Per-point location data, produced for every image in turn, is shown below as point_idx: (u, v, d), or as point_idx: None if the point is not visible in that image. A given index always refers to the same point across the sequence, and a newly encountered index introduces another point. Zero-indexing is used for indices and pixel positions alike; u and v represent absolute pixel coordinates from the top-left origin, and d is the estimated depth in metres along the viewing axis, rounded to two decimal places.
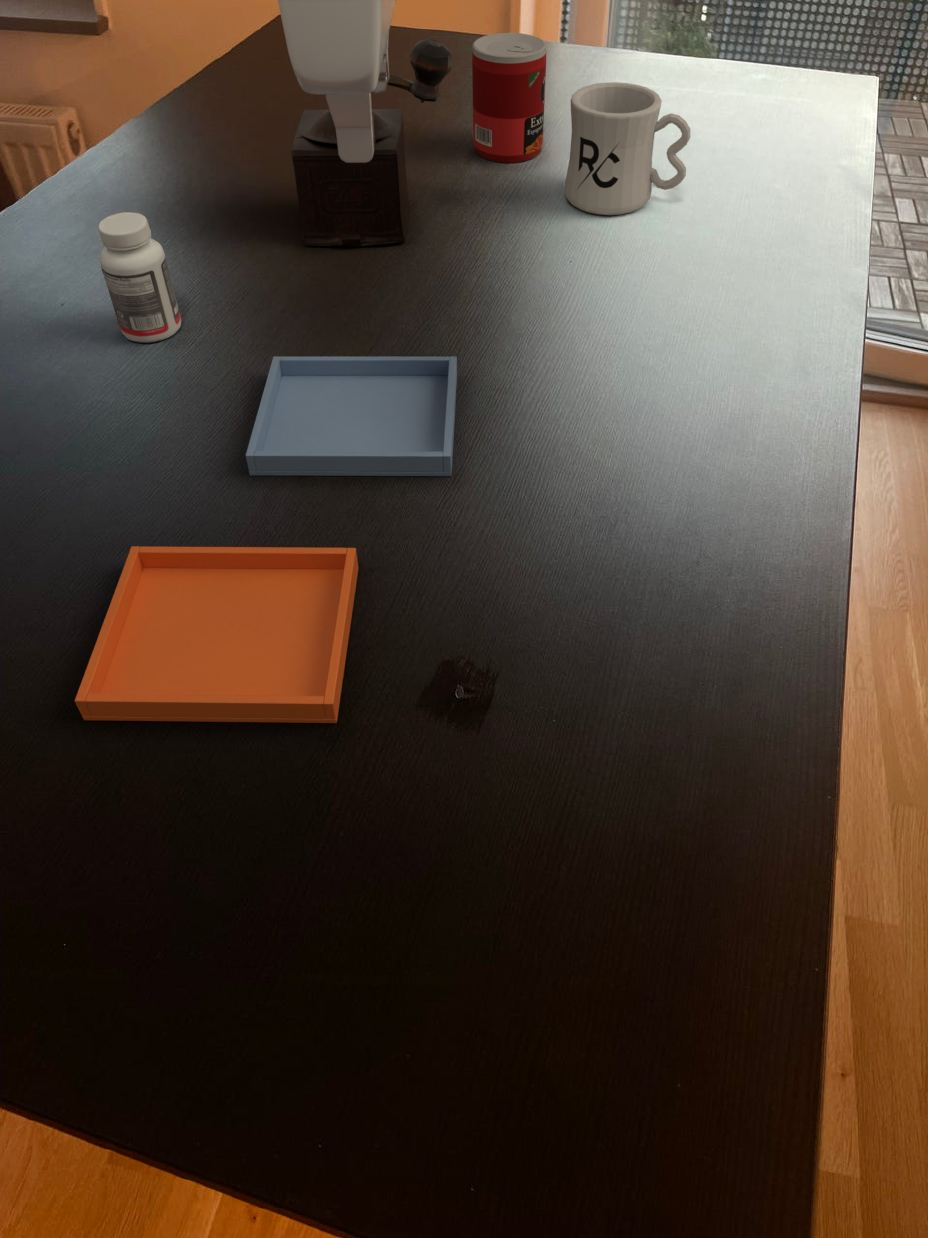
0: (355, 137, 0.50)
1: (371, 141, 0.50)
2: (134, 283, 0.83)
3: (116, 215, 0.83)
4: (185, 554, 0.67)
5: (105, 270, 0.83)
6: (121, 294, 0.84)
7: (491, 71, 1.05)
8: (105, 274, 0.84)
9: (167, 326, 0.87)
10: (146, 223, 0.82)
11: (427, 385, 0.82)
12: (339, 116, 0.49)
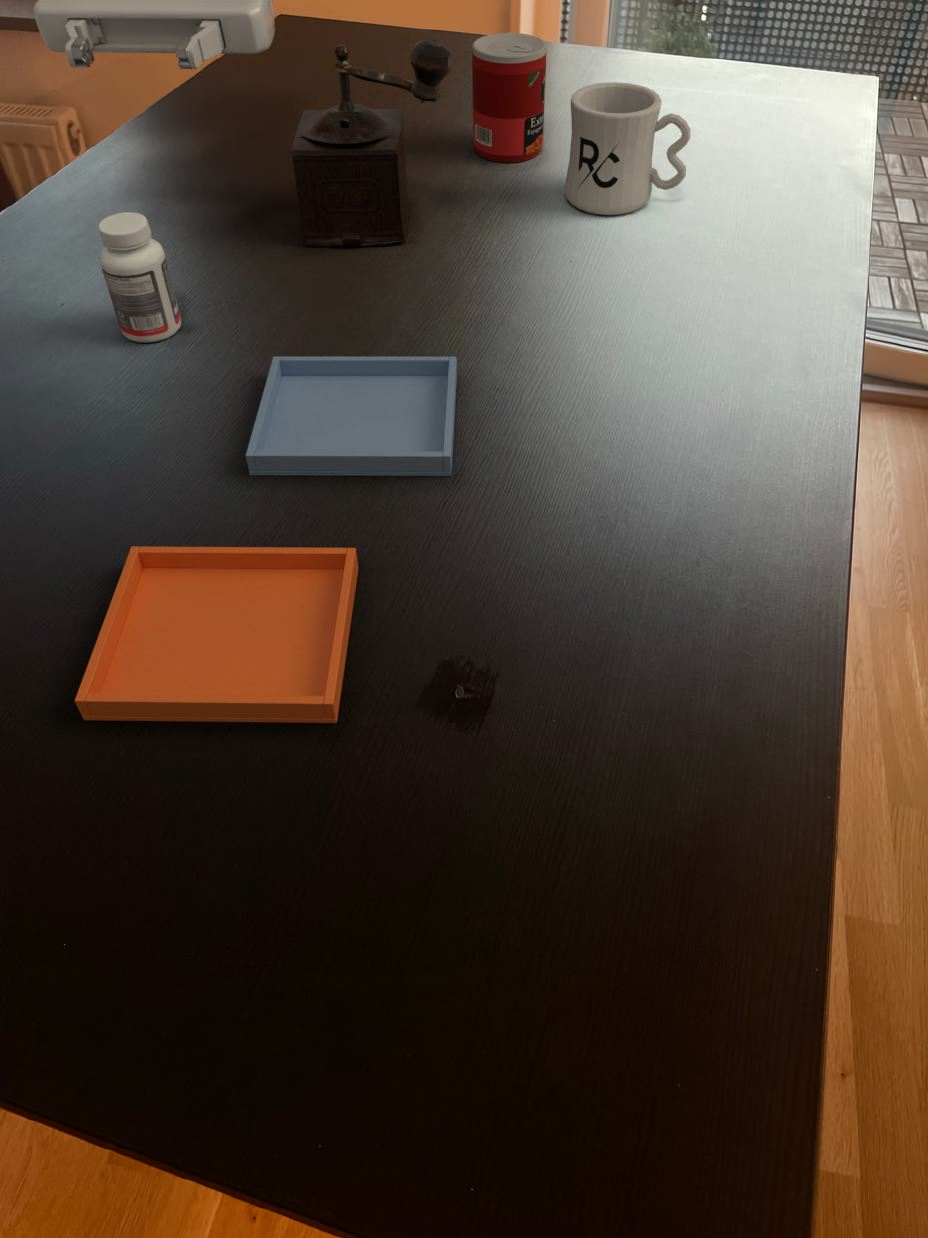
0: (198, 53, 0.82)
1: (200, 64, 0.83)
2: (134, 283, 0.83)
3: (116, 215, 0.83)
4: (185, 554, 0.67)
5: (105, 270, 0.83)
6: (121, 294, 0.84)
7: (491, 71, 1.05)
8: (105, 274, 0.84)
9: (167, 326, 0.87)
10: (146, 223, 0.82)
11: (427, 385, 0.82)
12: (206, 38, 0.82)
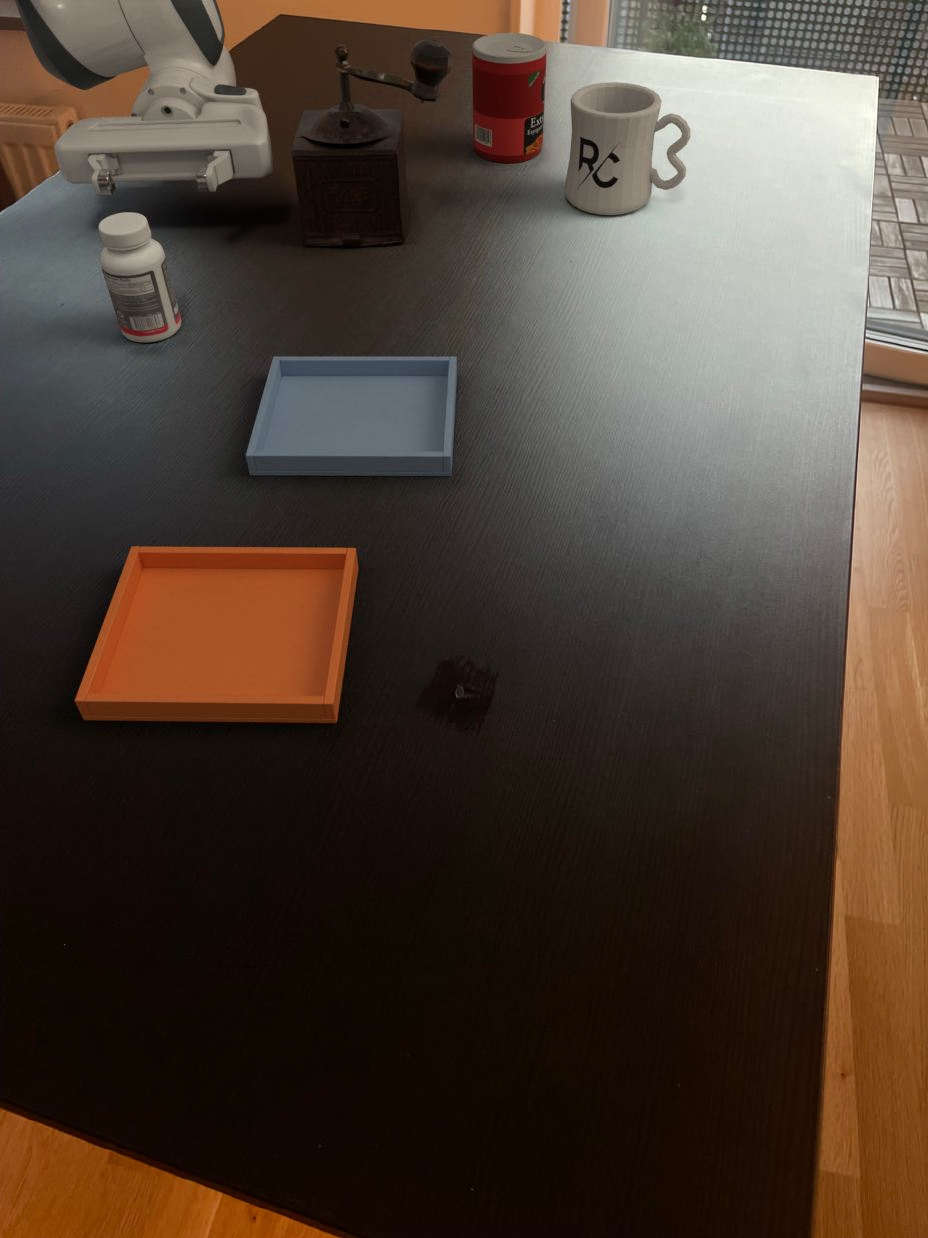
0: (215, 178, 0.92)
1: (216, 187, 0.92)
2: (134, 283, 0.83)
3: (116, 215, 0.83)
4: (185, 554, 0.67)
5: (105, 270, 0.83)
6: (121, 294, 0.84)
7: (491, 71, 1.05)
8: (105, 274, 0.84)
9: (167, 326, 0.87)
10: (146, 223, 0.82)
11: (427, 385, 0.82)
12: (221, 165, 0.92)
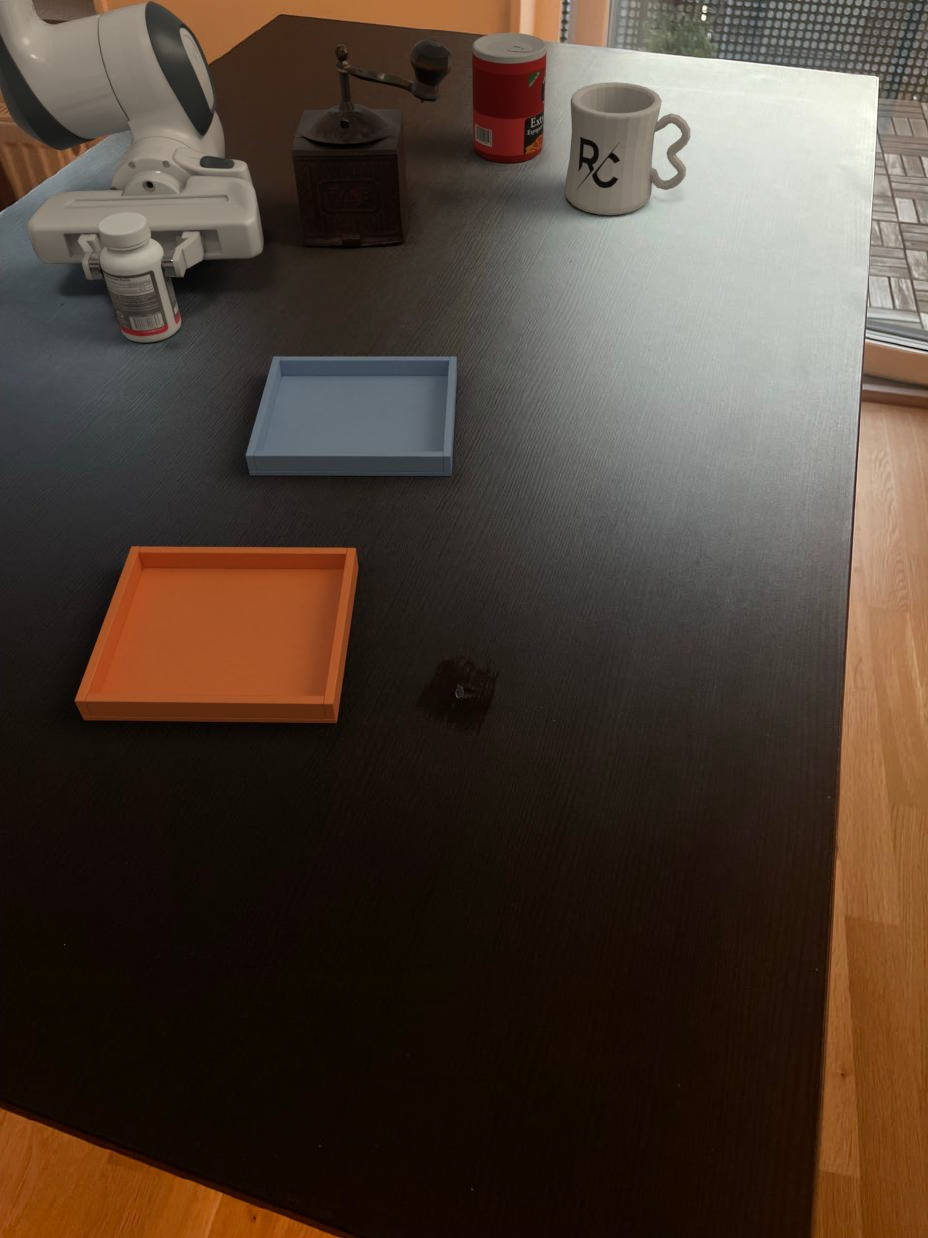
0: (183, 262, 0.85)
1: (184, 272, 0.86)
2: (134, 283, 0.83)
3: (116, 215, 0.83)
4: (185, 554, 0.67)
5: (105, 270, 0.83)
6: (121, 294, 0.84)
7: (491, 71, 1.05)
8: (105, 274, 0.84)
9: (167, 326, 0.87)
10: (146, 223, 0.82)
11: (427, 385, 0.82)
12: (189, 248, 0.85)
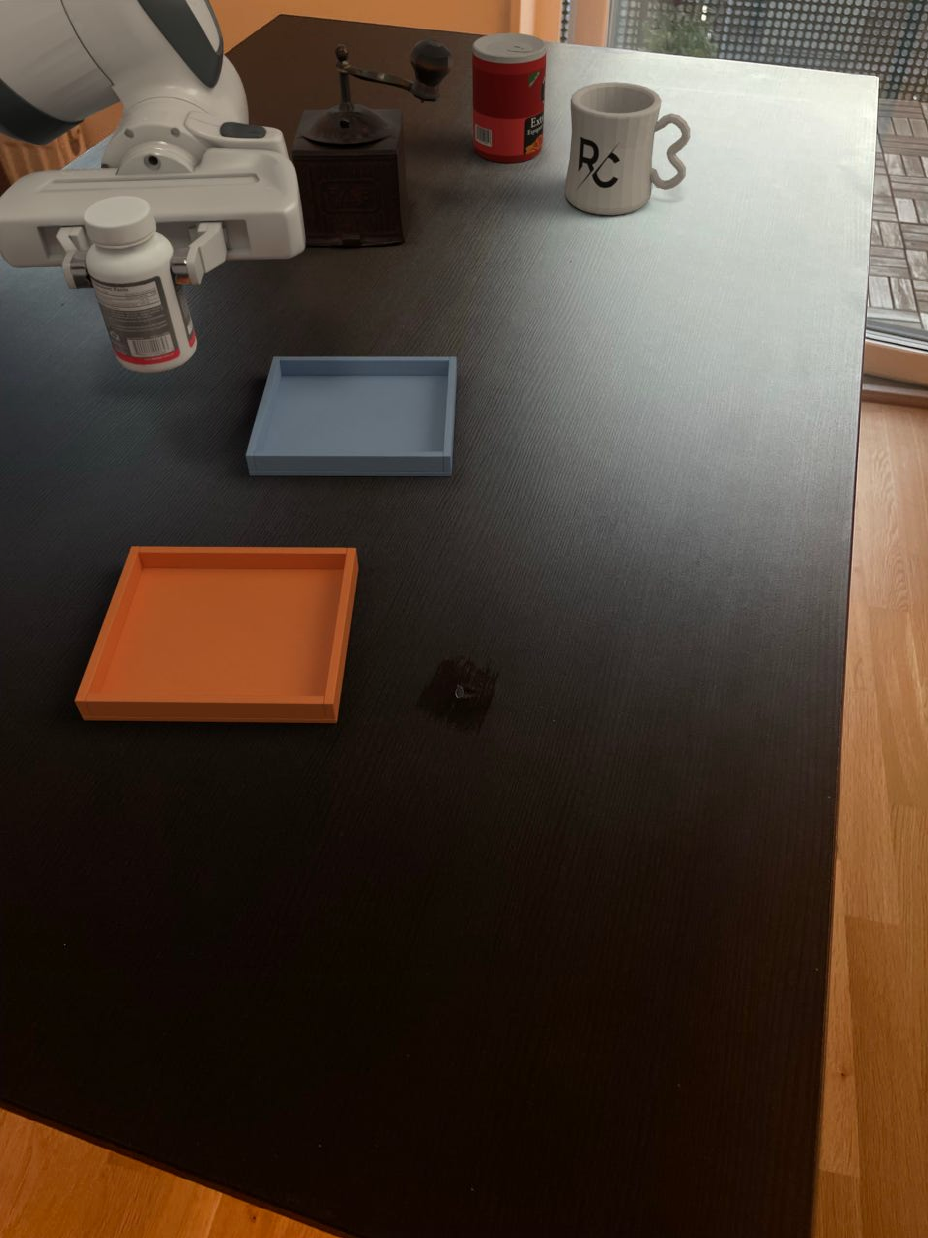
0: (200, 265, 0.62)
1: None
2: (133, 294, 0.61)
3: (108, 200, 0.60)
4: (185, 554, 0.67)
5: (93, 276, 0.60)
6: (116, 308, 0.61)
7: (491, 71, 1.05)
8: (93, 282, 0.61)
9: (178, 351, 0.64)
10: (149, 211, 0.59)
11: (427, 385, 0.82)
12: (208, 245, 0.63)
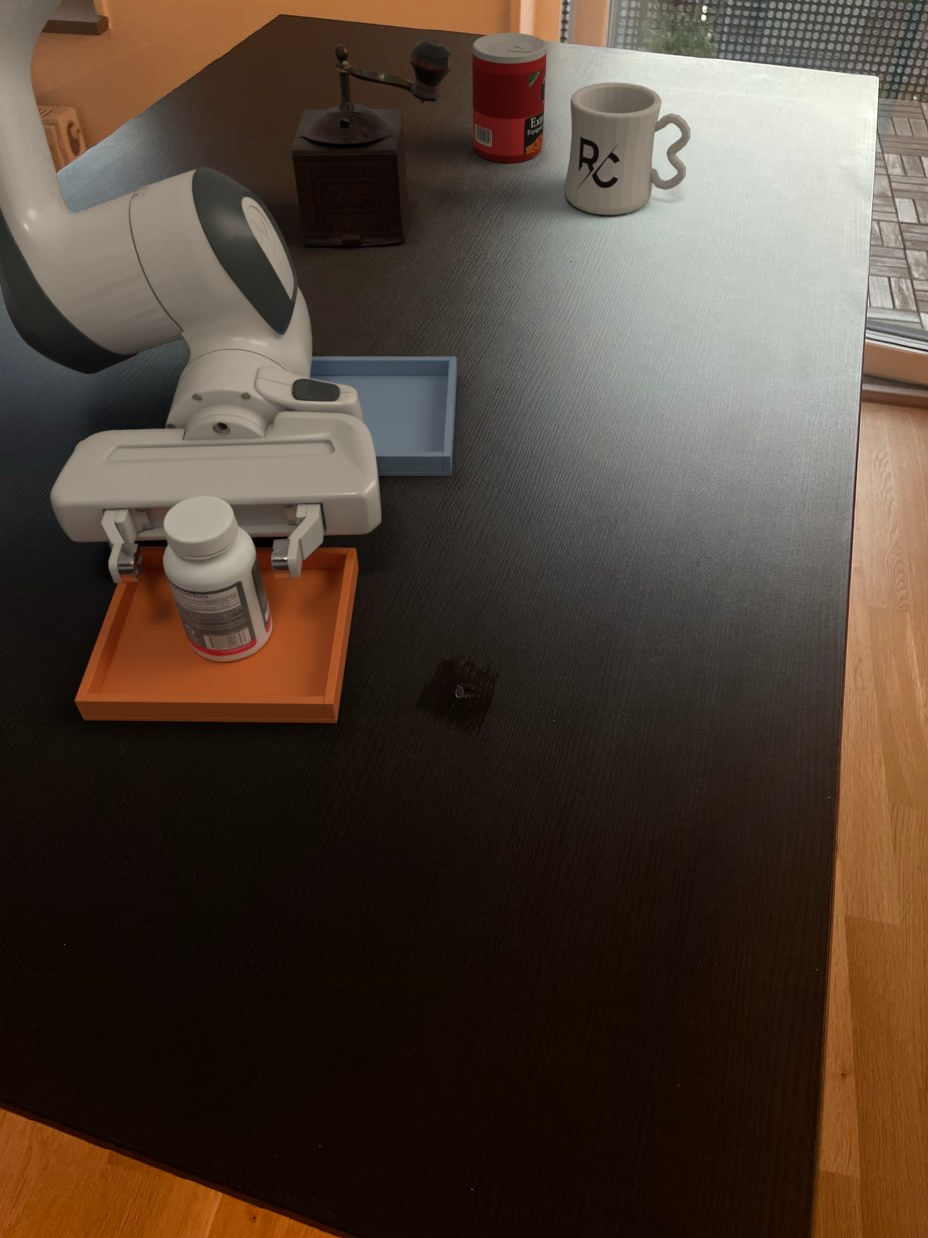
0: (300, 556, 0.59)
1: None
2: (214, 600, 0.58)
3: (188, 502, 0.57)
4: None
5: (172, 581, 0.57)
6: (194, 611, 0.58)
7: (491, 71, 1.05)
8: (171, 585, 0.58)
9: (255, 640, 0.61)
10: (232, 518, 0.56)
11: (427, 385, 0.82)
12: (308, 534, 0.59)
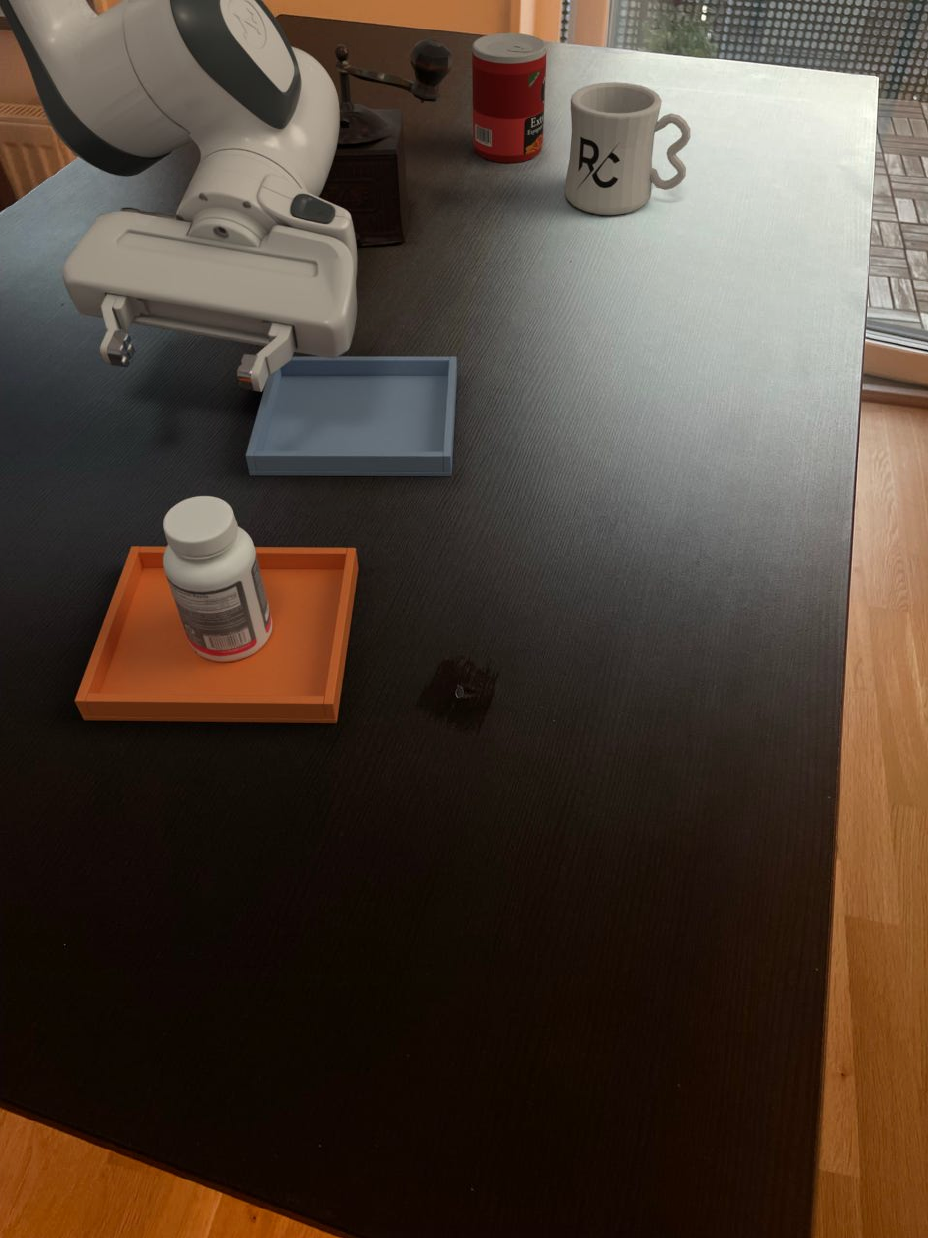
0: (265, 372, 0.67)
1: (265, 382, 0.67)
2: (213, 600, 0.58)
3: (188, 502, 0.57)
4: None
5: (171, 581, 0.57)
6: (194, 611, 0.58)
7: (491, 71, 1.05)
8: (171, 585, 0.58)
9: (255, 640, 0.61)
10: (232, 518, 0.56)
11: (427, 385, 0.82)
12: (276, 353, 0.67)
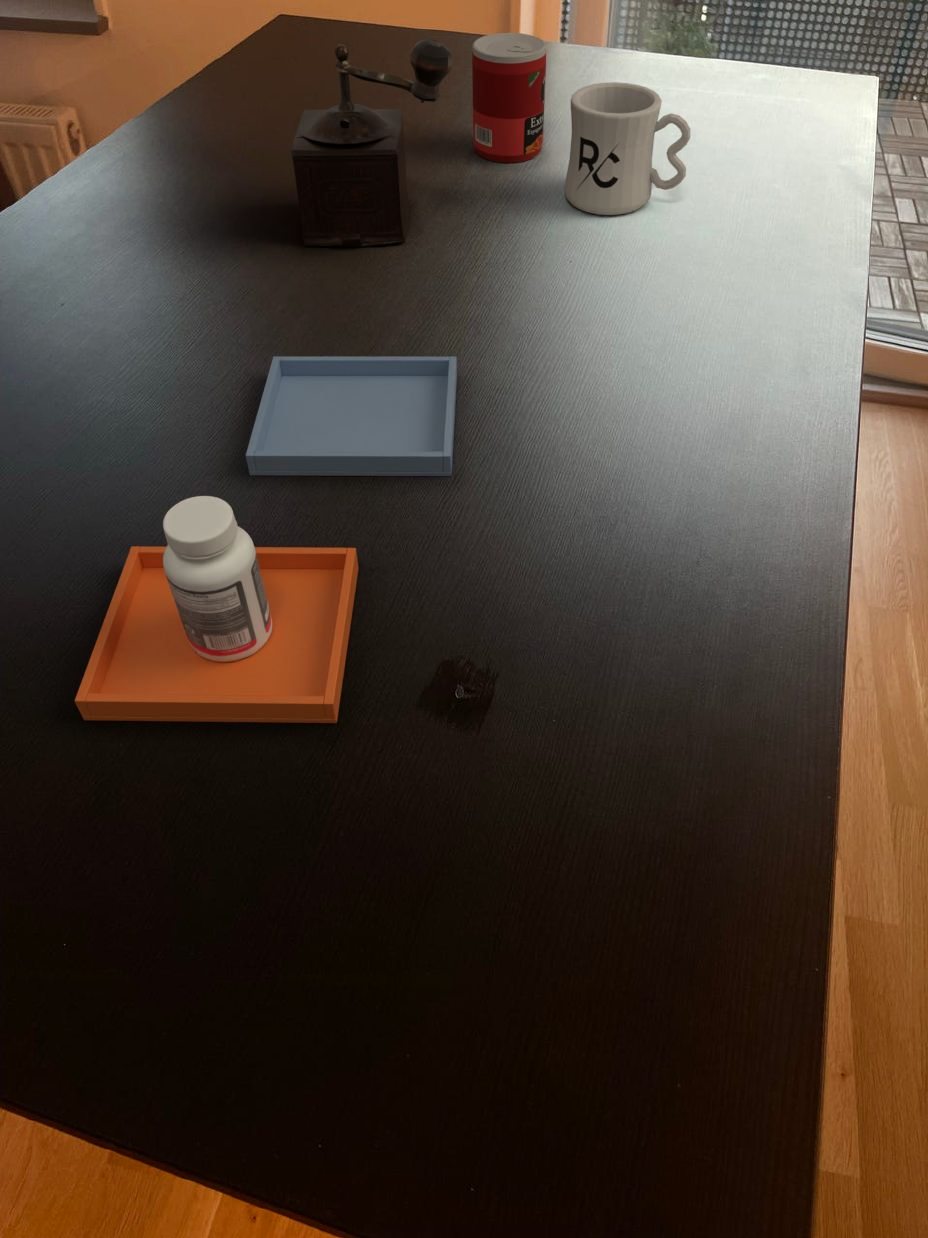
0: None
1: None
2: (213, 600, 0.58)
3: (187, 502, 0.57)
4: None
5: (171, 581, 0.57)
6: (194, 610, 0.58)
7: (491, 71, 1.05)
8: (171, 584, 0.58)
9: (255, 640, 0.61)
10: (232, 518, 0.56)
11: (427, 385, 0.82)
12: None
